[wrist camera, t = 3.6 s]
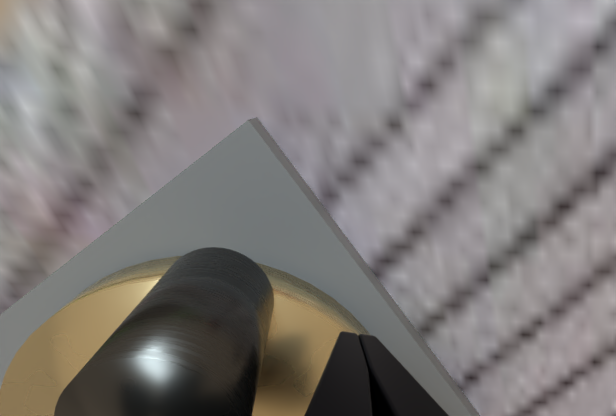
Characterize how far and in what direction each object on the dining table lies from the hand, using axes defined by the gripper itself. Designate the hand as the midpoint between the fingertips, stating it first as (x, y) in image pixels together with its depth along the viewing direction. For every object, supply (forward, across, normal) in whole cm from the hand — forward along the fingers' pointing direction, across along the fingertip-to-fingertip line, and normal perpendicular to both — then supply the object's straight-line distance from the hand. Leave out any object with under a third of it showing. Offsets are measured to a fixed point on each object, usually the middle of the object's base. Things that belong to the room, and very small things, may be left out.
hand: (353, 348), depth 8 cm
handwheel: (+3, +4, +6) cm, 7 cm away
